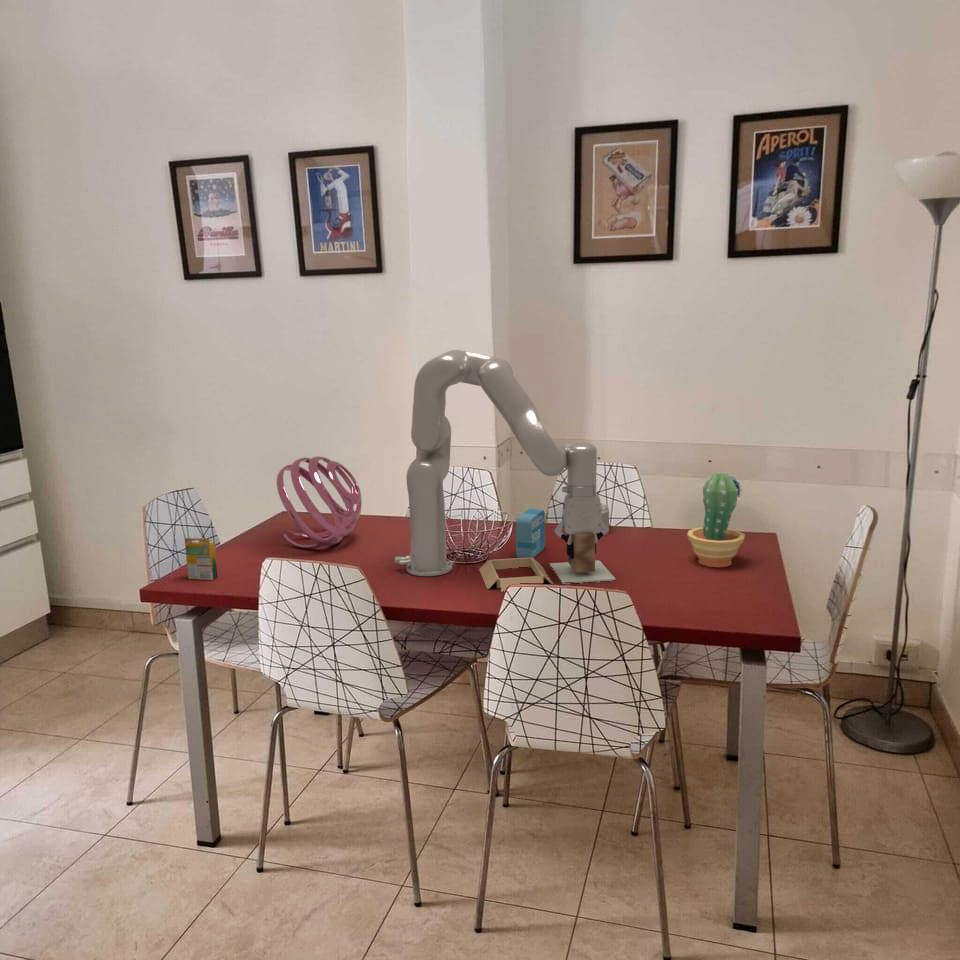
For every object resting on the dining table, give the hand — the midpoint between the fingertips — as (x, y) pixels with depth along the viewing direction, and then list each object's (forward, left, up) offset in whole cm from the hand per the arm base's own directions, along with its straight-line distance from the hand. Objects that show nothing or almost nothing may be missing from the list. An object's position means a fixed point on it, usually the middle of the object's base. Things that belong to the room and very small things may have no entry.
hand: (581, 556), depth 235 cm
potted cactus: (+38, +2, -5) cm, 38 cm away
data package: (-10, +20, -5) cm, 23 cm away
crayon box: (-101, +16, -5) cm, 102 cm away
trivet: (0, 0, -5) cm, 5 cm away
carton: (-18, 0, -5) cm, 19 cm away
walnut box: (0, 0, -3) cm, 3 cm away
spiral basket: (-70, +42, -5) cm, 82 cm away
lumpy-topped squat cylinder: (+13, +39, -5) cm, 41 cm away
